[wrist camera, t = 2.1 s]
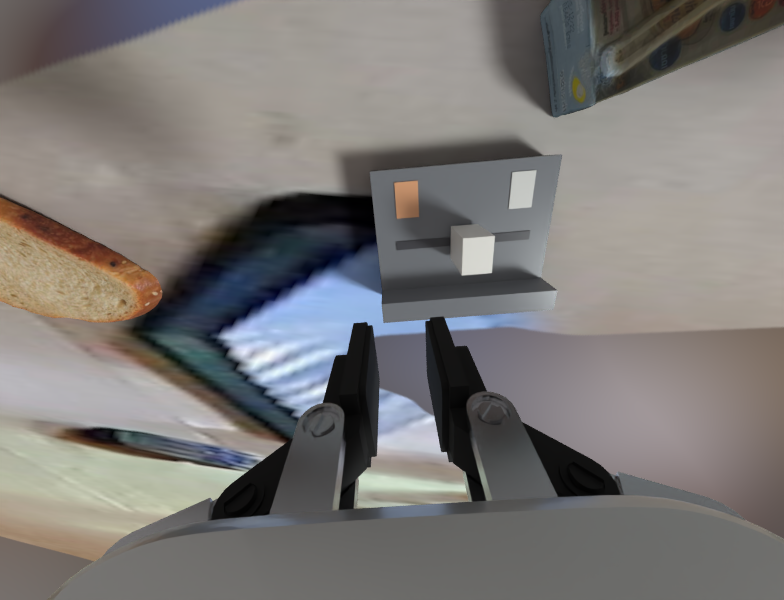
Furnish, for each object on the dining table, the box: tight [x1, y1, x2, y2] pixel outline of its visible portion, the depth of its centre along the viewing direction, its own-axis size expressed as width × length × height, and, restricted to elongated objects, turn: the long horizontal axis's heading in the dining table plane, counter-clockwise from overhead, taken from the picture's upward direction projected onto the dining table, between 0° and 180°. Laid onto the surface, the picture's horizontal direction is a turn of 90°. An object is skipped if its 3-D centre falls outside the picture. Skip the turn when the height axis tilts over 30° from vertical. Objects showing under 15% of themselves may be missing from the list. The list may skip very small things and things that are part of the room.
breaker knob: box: [450, 224, 495, 275], centre depth 24 cm, size 2×3×4 cm
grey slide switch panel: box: [370, 155, 562, 323], centre depth 26 cm, size 16×13×6 cm
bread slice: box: [0, 197, 162, 322], centre depth 28 cm, size 18×18×4 cm
